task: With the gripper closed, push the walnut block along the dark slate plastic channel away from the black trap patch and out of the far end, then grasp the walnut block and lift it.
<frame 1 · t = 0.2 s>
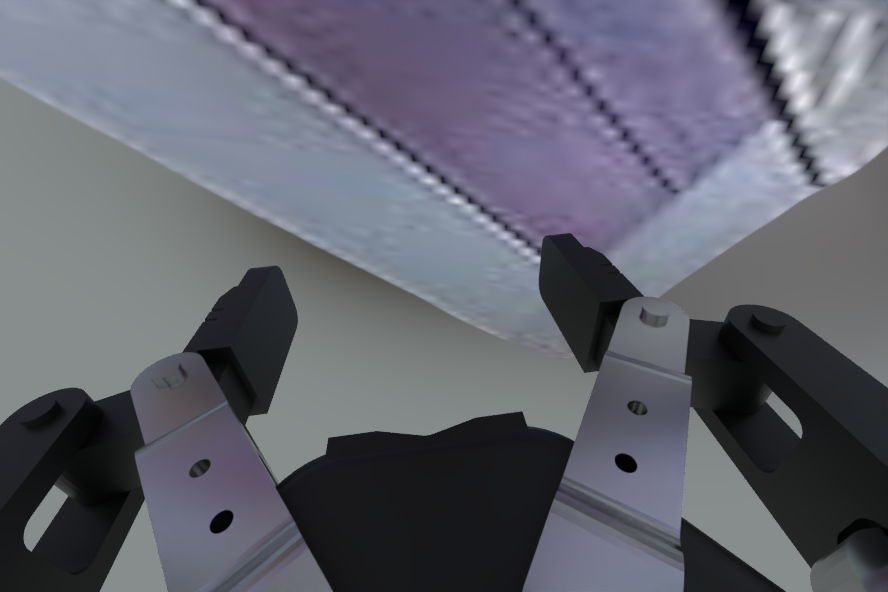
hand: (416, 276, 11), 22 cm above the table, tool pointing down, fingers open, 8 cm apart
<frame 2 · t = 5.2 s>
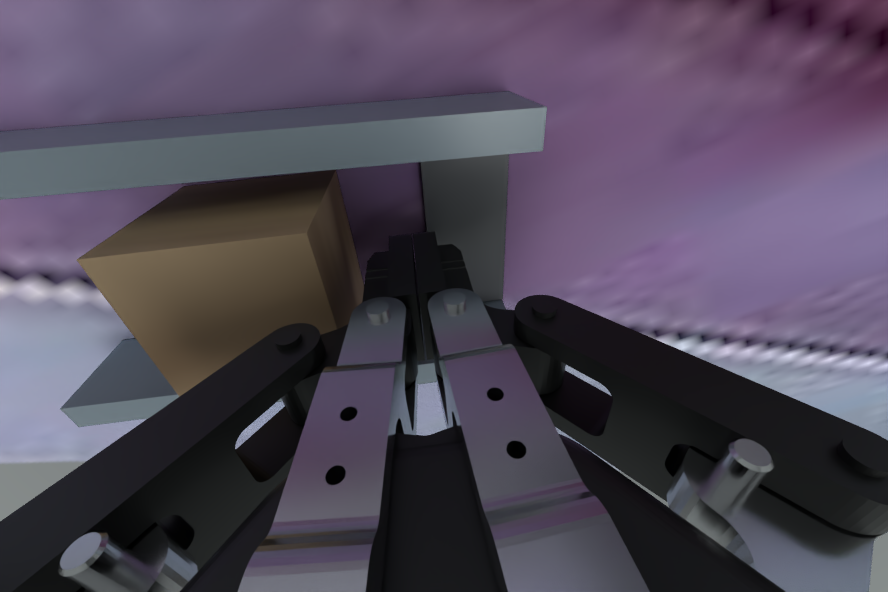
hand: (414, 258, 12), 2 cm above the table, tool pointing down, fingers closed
block: (285, 244, 14), on the table, touching gripper
channel: (293, 244, 14), on the table
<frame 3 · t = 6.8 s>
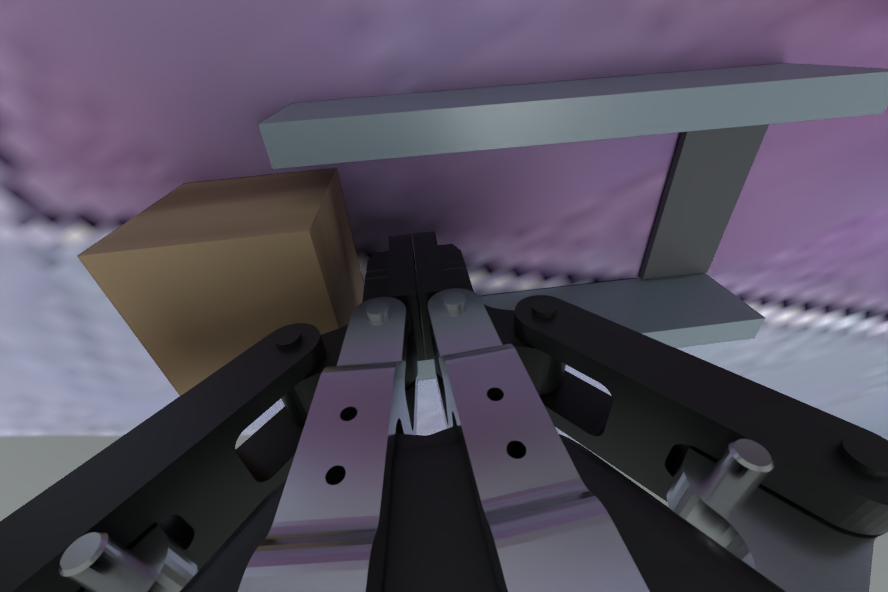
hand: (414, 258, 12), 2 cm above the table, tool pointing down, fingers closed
block: (284, 242, 14), on the table, touching gripper
channel: (536, 216, 14), on the table
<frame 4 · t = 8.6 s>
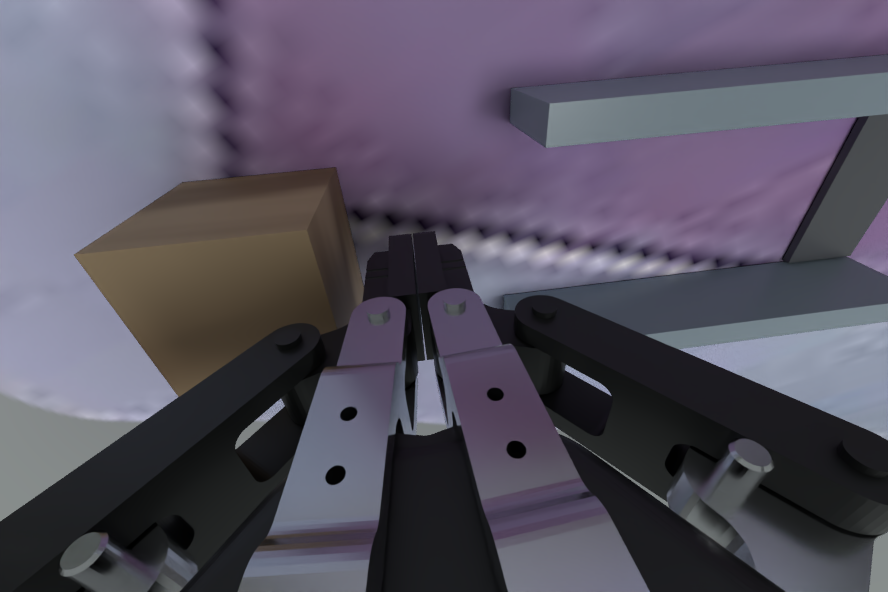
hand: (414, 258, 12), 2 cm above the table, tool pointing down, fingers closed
block: (284, 242, 14), on the table, touching gripper
channel: (704, 199, 15), on the table
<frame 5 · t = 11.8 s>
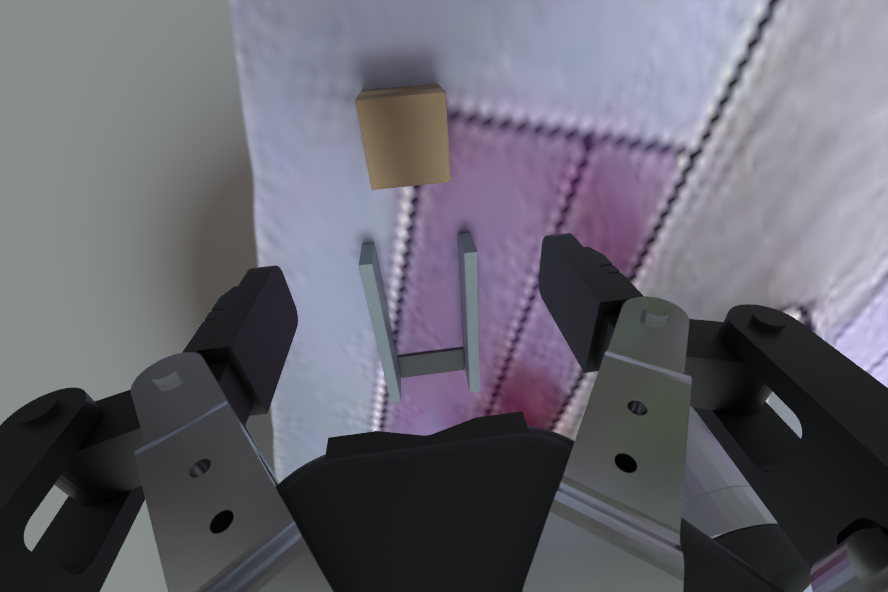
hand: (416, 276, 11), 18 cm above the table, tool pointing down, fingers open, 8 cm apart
block: (404, 127, 26), on the table
channel: (425, 313, 35), on the table
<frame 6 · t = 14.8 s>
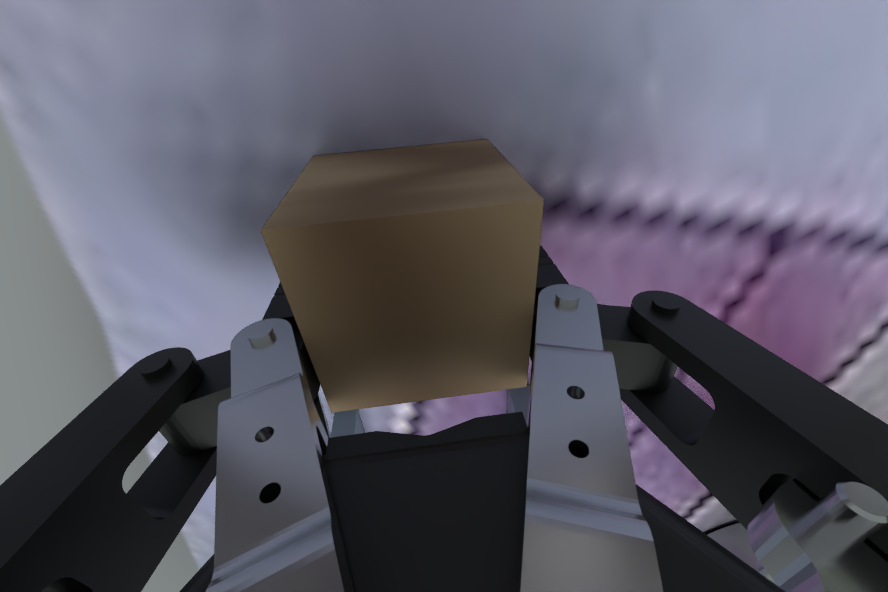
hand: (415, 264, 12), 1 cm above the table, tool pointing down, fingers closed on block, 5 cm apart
block: (411, 227, 12), on the table, touching gripper
channel: (444, 487, 21), on the table
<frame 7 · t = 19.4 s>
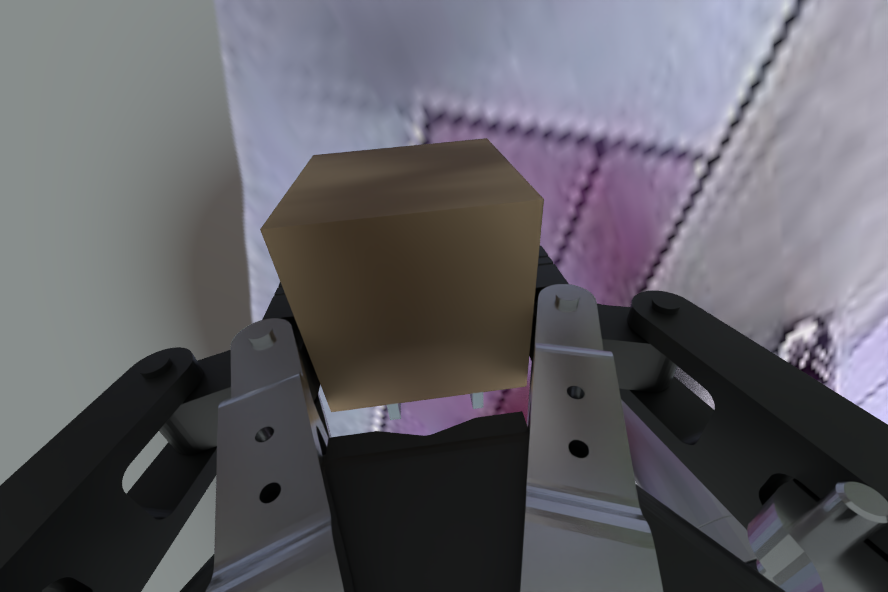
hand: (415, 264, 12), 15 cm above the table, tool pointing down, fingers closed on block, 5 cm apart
block: (411, 226, 12), point 15 cm above the table, touching gripper
channel: (426, 326, 33), on the table
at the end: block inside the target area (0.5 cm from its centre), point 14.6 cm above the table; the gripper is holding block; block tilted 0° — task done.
